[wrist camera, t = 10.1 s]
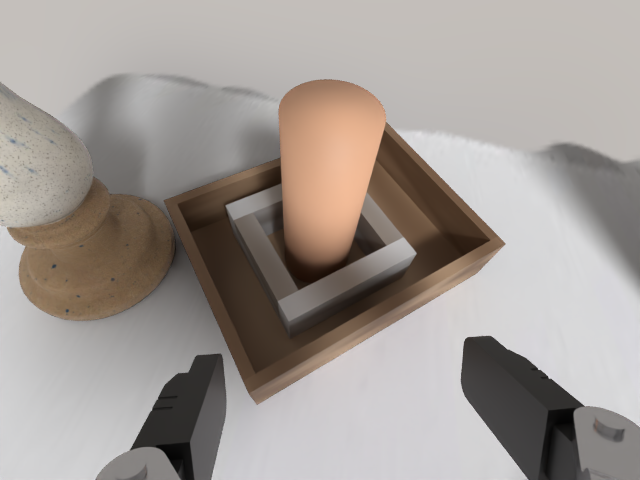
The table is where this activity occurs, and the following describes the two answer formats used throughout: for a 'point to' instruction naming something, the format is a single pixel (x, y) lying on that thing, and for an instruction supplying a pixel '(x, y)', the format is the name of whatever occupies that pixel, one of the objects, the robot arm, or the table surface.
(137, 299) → the candle holder
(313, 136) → the peg
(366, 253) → the box
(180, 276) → the table surface
